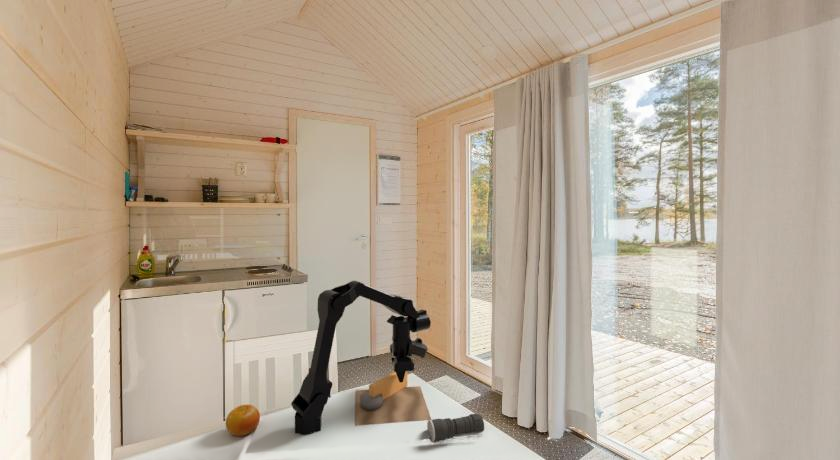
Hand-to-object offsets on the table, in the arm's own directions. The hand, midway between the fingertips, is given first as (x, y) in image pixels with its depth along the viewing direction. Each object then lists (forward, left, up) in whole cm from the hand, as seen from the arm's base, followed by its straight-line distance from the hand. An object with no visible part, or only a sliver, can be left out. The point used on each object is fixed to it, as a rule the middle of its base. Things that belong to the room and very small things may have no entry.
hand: (401, 381), depth 132 cm
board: (-4, -6, -6) cm, 9 cm away
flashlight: (+13, -23, -6) cm, 27 cm away
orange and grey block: (-5, -1, -4) cm, 7 cm away
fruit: (-46, -13, -6) cm, 48 cm away
